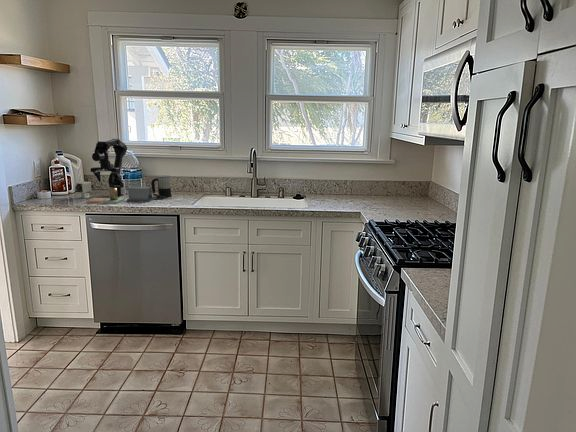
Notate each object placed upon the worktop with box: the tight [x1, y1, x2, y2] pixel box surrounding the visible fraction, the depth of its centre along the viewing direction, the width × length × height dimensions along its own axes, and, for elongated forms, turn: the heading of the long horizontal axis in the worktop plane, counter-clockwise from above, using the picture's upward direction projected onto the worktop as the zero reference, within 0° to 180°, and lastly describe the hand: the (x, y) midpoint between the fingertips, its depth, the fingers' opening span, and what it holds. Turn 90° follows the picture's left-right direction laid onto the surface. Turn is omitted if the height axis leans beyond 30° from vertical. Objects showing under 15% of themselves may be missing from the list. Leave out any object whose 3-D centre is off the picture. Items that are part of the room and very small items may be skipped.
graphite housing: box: [127, 186, 155, 202], centre depth 297 cm, size 8×16×9 cm, turn 84°
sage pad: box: [102, 198, 125, 205], centre depth 290 cm, size 10×10×2 cm
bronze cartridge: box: [108, 187, 119, 200], centre depth 289 cm, size 5×5×8 cm
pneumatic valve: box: [75, 181, 94, 199], centre depth 304 cm, size 6×12×12 cm, turn 155°
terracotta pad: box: [85, 197, 109, 204], centre depth 292 cm, size 10×10×2 cm
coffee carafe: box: [150, 175, 172, 199], centre depth 307 cm, size 14×16×15 cm
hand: (106, 182), depth 299 cm, fingers open, 9 cm apart
